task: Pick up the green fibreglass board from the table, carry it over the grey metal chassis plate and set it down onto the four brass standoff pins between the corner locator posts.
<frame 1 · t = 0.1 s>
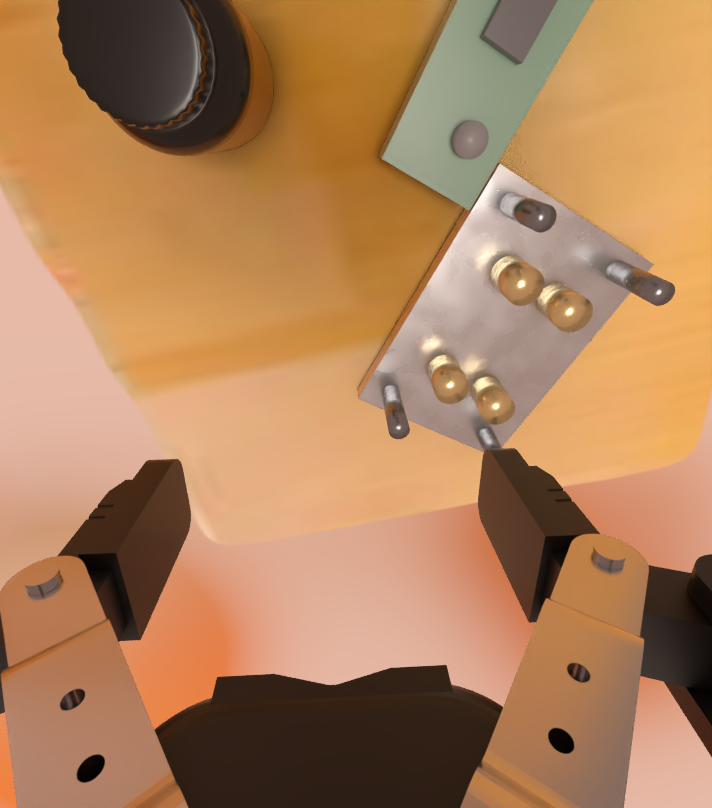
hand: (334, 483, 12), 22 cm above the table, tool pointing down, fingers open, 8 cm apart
supplement bottle: (213, 80, 26), on the table
board: (472, 78, 26), on the table
chassis: (490, 328, 34), on the table
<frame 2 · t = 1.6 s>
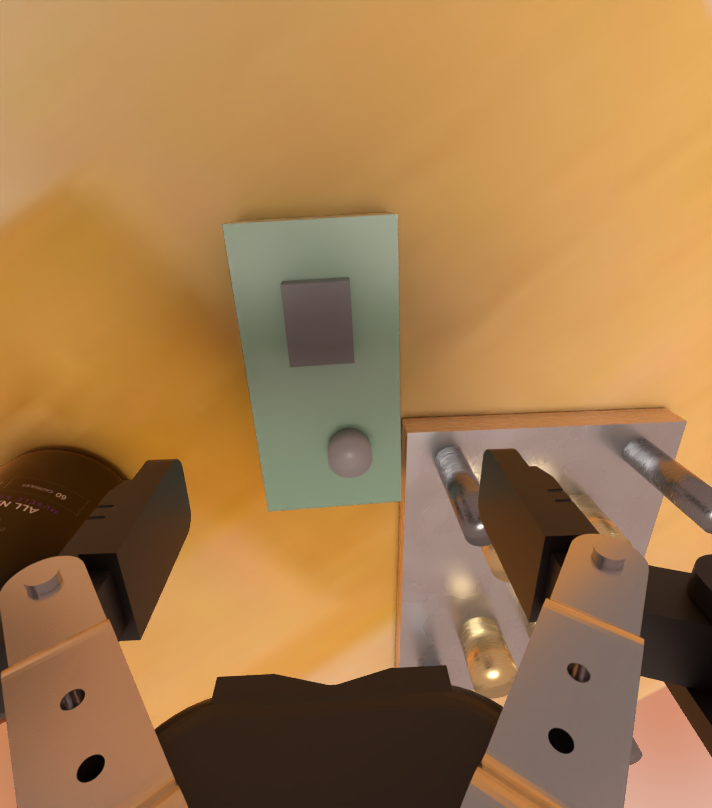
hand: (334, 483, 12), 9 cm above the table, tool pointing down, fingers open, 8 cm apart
supplement bottle: (72, 501, 23), on the table
board: (324, 358, 21), on the table
chassis: (512, 556, 26), on the table
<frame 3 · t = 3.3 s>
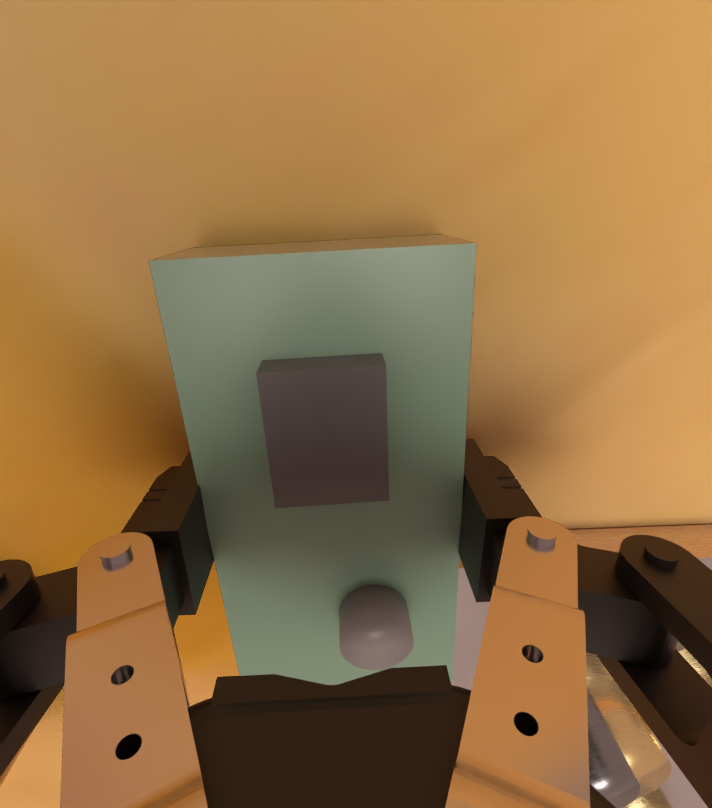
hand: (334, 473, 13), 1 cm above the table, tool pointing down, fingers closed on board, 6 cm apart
board: (334, 455, 13), on the table, touching gripper
chassis: (588, 706, 19), on the table
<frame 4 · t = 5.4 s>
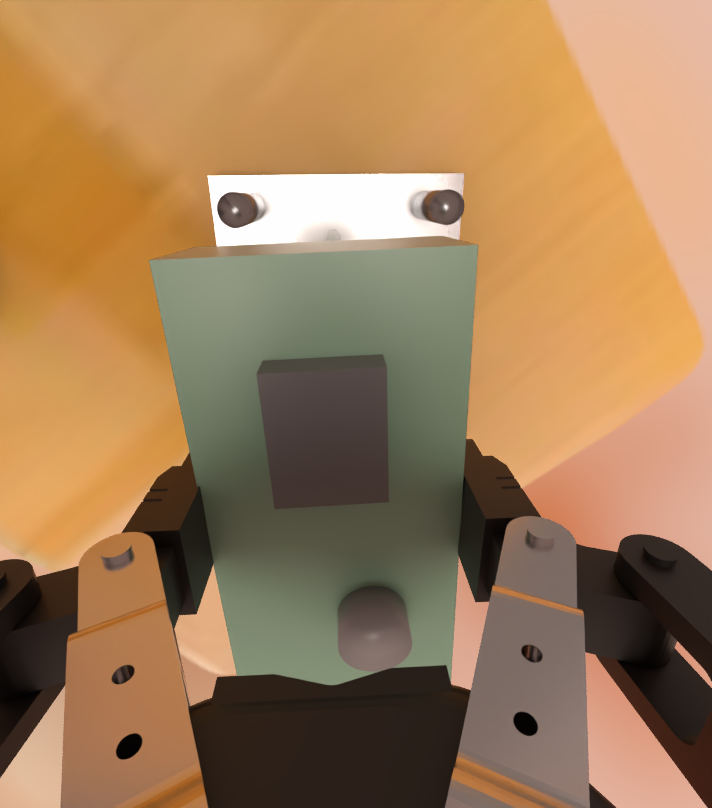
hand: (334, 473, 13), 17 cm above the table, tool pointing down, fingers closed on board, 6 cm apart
board: (334, 456, 13), point 16 cm above the table, touching gripper
chassis: (341, 338, 28), on the table
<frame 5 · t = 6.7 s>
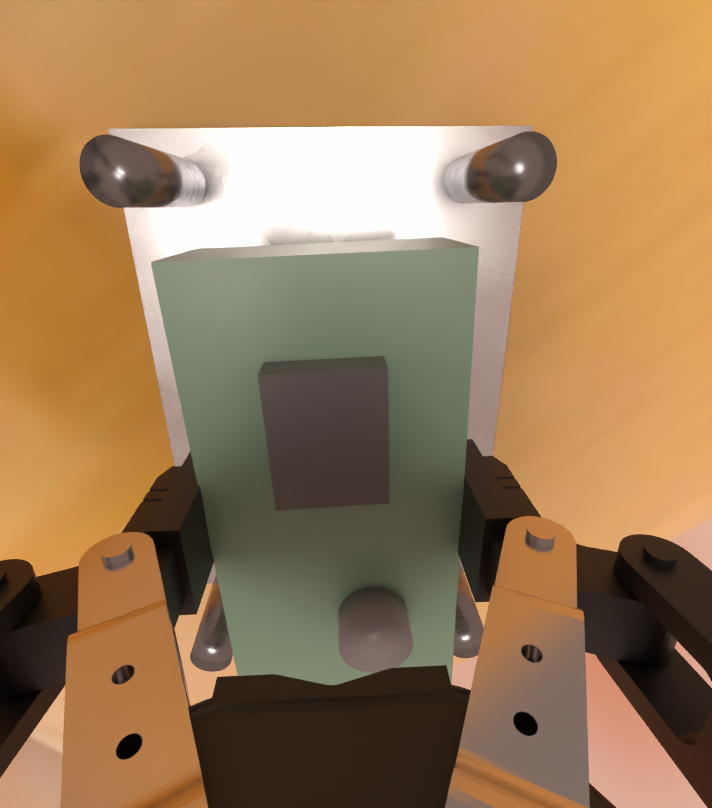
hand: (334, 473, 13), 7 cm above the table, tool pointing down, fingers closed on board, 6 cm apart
board: (334, 457, 13), point 6 cm above the table, touching gripper
chassis: (333, 384, 19), on the table
when the fingers open (7 cm above the table, at t = 7.6 s): board drops 1 cm, resting on chassis.
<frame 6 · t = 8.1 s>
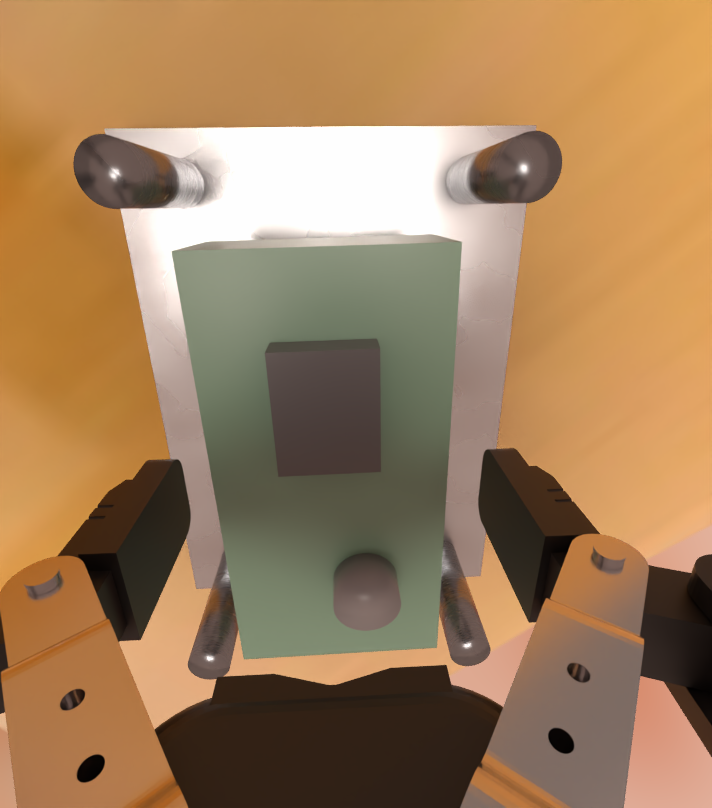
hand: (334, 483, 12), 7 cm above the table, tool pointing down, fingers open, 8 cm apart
board: (332, 437, 15), point 4 cm above the table, touching chassis
chassis: (333, 387, 19), on the table
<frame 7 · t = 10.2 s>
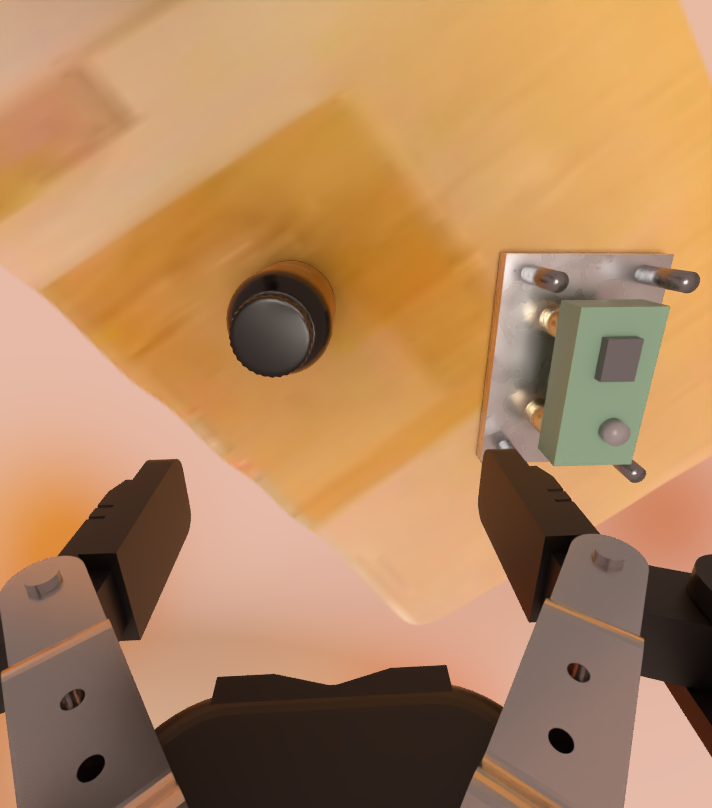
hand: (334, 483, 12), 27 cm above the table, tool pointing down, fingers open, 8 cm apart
supplement bottle: (293, 302, 37), on the table
board: (586, 378, 35), point 4 cm above the table, touching chassis
chassis: (561, 361, 40), on the table
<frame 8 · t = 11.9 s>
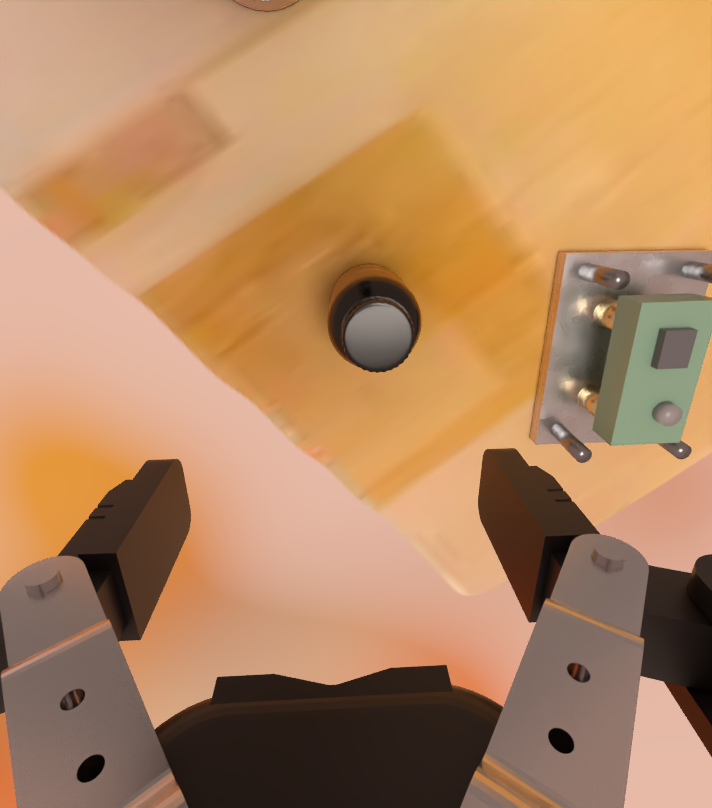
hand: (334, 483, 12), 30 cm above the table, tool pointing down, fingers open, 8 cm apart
supplement bottle: (367, 302, 41), on the table
board: (639, 365, 39), point 4 cm above the table, touching chassis
chassis: (610, 350, 43), on the table
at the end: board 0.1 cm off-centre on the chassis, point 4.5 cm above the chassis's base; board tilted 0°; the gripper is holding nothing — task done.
